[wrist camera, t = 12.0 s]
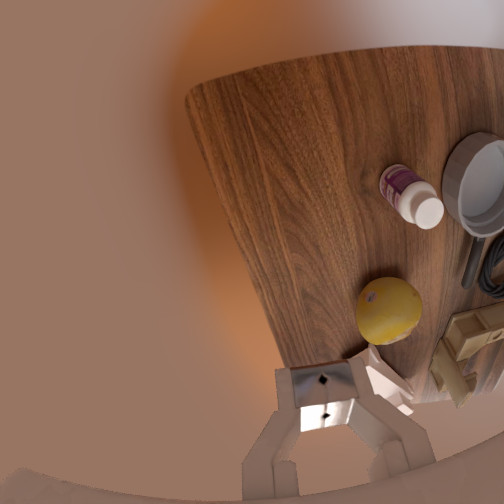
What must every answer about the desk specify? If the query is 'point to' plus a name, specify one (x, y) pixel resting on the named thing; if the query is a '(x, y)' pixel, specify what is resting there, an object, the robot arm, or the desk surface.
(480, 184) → the pan
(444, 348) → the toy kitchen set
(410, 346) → the desk surface
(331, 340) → the desk surface
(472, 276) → the pan handle
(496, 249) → the cable
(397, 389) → the toy truck
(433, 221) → the pill bottle
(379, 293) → the fruit
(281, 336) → the desk surface
